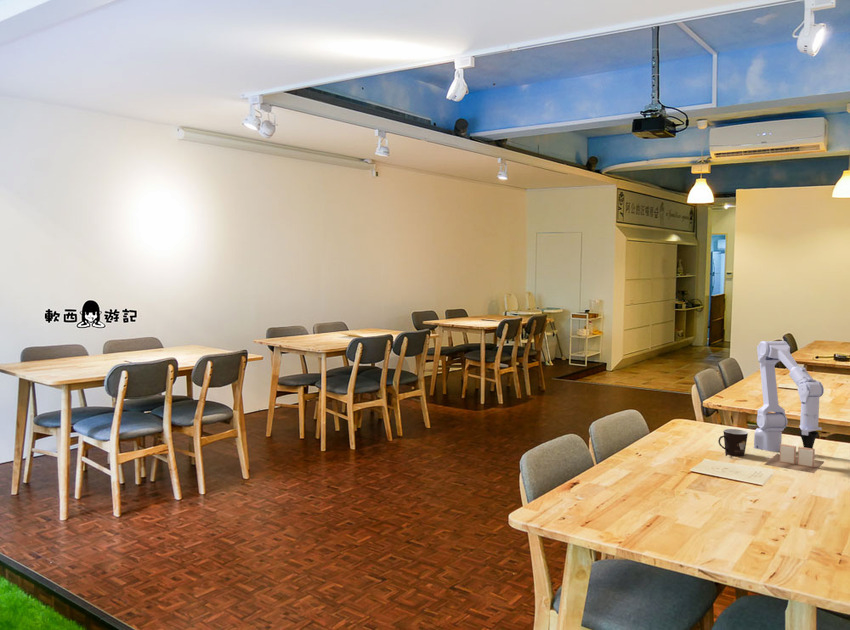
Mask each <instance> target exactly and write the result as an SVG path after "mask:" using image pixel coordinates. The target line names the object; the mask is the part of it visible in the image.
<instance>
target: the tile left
mask: <svg viewBox="0 0 850 630" xmlns="http://www.w3.org/2000/svg"><path fill="white" fill-rule="evenodd" d="M779 454H780V462H782V463H788V464H794V465H795V464H796V457H797V445H792V444H791V445H790V444H784V443H781V444H780V451H779Z"/></svg>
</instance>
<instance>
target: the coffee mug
mask: <svg viewBox="0 0 850 630" xmlns="http://www.w3.org/2000/svg"><path fill="white" fill-rule="evenodd" d="M748 435H749V432H748V431H746V430H742V429H737V428H726V429H723V435H721V436H720V437H718V441H717V442H718V444H719V446H720V447H721V448H722V449H724V453H725V457H727V456H731V457H737V458H738V457H744V456H745V453H746V447H747V440H748ZM721 439H723V441H724V446H723V445H722V443H721Z"/></svg>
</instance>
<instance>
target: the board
mask: <svg viewBox="0 0 850 630" xmlns="http://www.w3.org/2000/svg"><path fill="white" fill-rule="evenodd" d="M824 462H825V460H818V459H814V467H813V468H812V467H806V466H800V465H798V456H796V464H795V465H794V464H788V463H782V462H780V453H775V455H774V456H772V457H771V458H770V459H769V460H768V461H767V462H765V463H764V464H763V465H764V466H770V467H771V466H772V467H776V468H781V469H787V470H794V471H798V472H799V471H800V472H806V473H811V474H815V472H817V470H819V468H820V467H821V466H822V465H823V464H824Z"/></svg>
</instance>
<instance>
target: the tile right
mask: <svg viewBox="0 0 850 630" xmlns="http://www.w3.org/2000/svg"><path fill="white" fill-rule="evenodd" d="M797 449H798V451H797V457H798V465H800V466H806V467H812V468H813V467H814V460H815V459H816V458H815V456H816V455H815V454H816V449H815V448H813V449H812V448H805V447H804V446H798V448H797Z"/></svg>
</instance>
